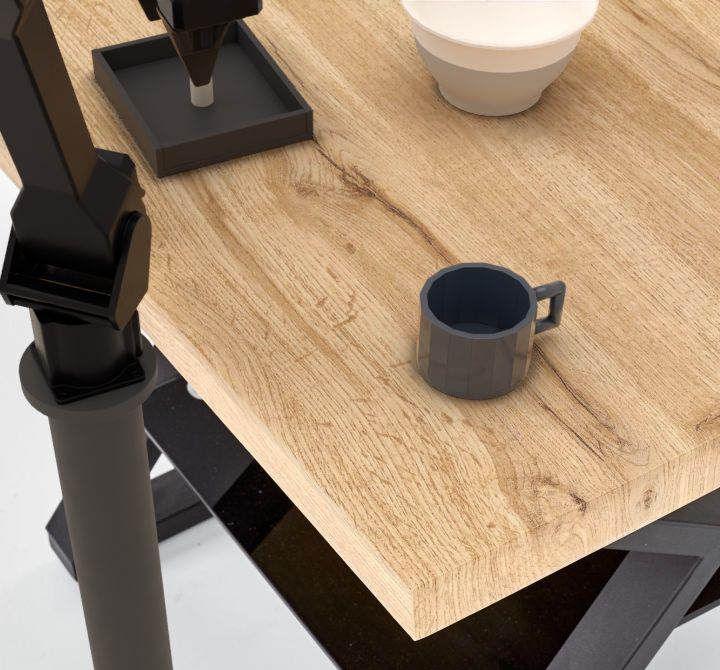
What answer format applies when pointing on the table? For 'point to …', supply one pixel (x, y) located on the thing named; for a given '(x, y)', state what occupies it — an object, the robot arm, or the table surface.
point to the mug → (481, 328)
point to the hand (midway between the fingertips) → (178, 51)
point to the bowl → (497, 48)
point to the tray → (201, 124)
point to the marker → (202, 94)
